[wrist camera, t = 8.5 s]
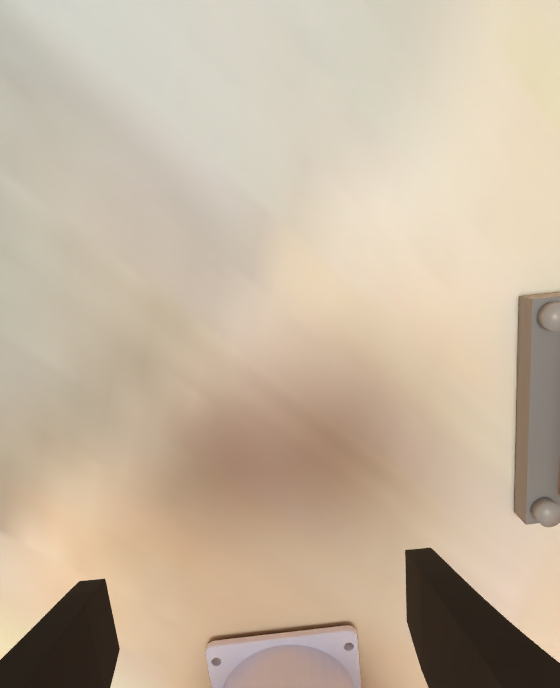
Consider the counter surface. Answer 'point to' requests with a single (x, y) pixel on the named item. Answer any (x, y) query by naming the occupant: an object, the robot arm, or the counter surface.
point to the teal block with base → (538, 410)
